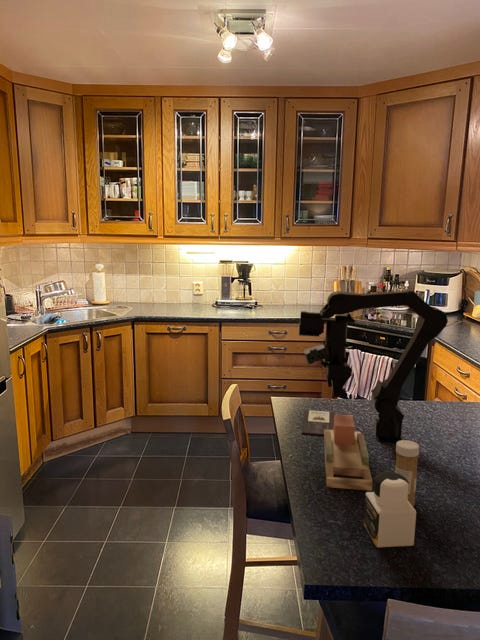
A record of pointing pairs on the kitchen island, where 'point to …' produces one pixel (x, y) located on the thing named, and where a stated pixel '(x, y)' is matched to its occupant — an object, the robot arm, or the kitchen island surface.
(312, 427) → the chocolate bar
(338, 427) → the block
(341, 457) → the beige tray
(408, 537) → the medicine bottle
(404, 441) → the sprinkles bottle
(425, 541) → the kitchen island surface
